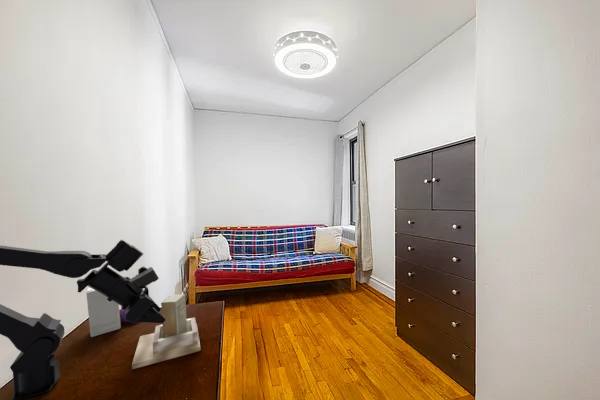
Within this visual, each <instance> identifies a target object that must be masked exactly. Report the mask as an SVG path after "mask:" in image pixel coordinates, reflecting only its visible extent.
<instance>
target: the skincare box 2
mask: <svg viewBox="0 0 600 400" xmlns="http://www.w3.org/2000/svg"><path fill="white" fill-rule="evenodd" d="M160 303H161V307H160V308H161V315H162V316H163V317H164V318H165V319H166V320H165V321H164V323H161V325H162V324H163V338H166V337H170V336H174V335H178V334H183V333H187V319H188V317H187V304H186V294H185V293H183V294H182V293H181V294H171V295H169V296H168V297H166V298H165V299H164V300H163V301H161V302H160Z"/></svg>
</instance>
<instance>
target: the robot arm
mask: <svg viewBox="0 0 600 400" xmlns="http://www.w3.org/2000/svg"><path fill="white" fill-rule="evenodd" d="M143 256H144V252H142V251H141V249H138V248H137V247H136V246H134V245H132V244H130V243H129V242H127V241H125V240H124V239H120V240H119V241H118V242H117V243H116V245H115V246H114V247H112V248H111V250H109V251H108V252H107V254H91V253H90V252H88V251H85V250H60V251H59V250H58V251H46V250H40V249H29V248H24V247H23V248H22V247H15V246H7V245H0V266H7V267H17V268H27V269H37V270H42V271H45V272H48V273H51V274H54V275H57V276H61V277H66V278H70V279H77V278H80V279H77V281H76V285H77V293H82V292H83V291H84V290H85V289H86V288H92V289H94V290H95V291H97V292H99V293H101V294H102V295H104V296H106V297H107V300H108V301H110V302H111V301H114V302H116V303H117V304H119V306H120V307H121V308H120V309H124V310H125V309H126V308H127V307H128V306H129V307H128V308H127V309H126V310H125V316H126V320H127V321H128V322H127V323H130V324H132V325H133V324H137V323H147V324H149V323H154V324H162V323H164V321H165V320H166V319H165V318H164V317H163V316H162V313H160V311H162V308H161V307H160V306H159V305H158V304H157V303H156V302H155V301H154V299H153V298H152V297H150V293H149V291H150V290H149V287H148V286H149V285H151V284H152V283H155V282H157V281H158V280H160V279H159V276H158V275H157V273H156V271H155V270H154V268H153V267H148V268H147V267H146V266H144V265H143V266H141V267H139V268H138V270H137V273H138V274H136V275H135V276H133V277H131V278H130V277H129V276H122V275H121V274H119V273H121V272H124V271H126V272H127V271H129V270H130V269H131V268H132V267H133V266H134V265H135V264H136V263H137V262H138V261H139V259H140V258H141V257H143ZM109 266H110V267H111V268H110V267H109ZM97 268H99V269H98V270H96V269H97ZM116 271H117V272H116ZM118 272H119V273H118ZM86 274H87V275H86ZM85 275H86V276H85ZM83 276H85V277H84V278H82V277H83ZM61 322H62V320H61V319H56V318H53V317H52V316H50V315H49V314H47V313H46V312H44V313H42V315H41V316H40V317H29V316H26V315H24V314H22V313H20V312H18V311H15V310H13V309H12V308H10V307H7V306H6V305H4V304H3V305H2V304H1V303H0V335H1V336H3V337H6V338H7V339H8V340H9V341H10V342H11V344H12V345H14V347H15V348H16V349H17V350H18V351H20V353H18V355H17V357H16V358H15V360H13V362H12V363H11V365H10V366H9V369H10V370H11V371H12V380H13V382H12V383H13V395H12V396H11V398H9V400H20V399H21V400H24V398H25V399H29V398H32V397H35V396H39V395H41V394H46V393H49V392H50V390H52V389H53V386H54V385H55V384H56V383H57V381H58V380H59V379H60V376H61V374H60V361H59V360H58V359H57V358H56V357H57V356H56V353H55V352H56V351H57V349H58V348H59V347H60V345H61V342H62V341H63V338H64V337H65V336H64V335H65V327H64V325H63V324H62V323H61Z"/></svg>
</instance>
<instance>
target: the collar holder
mask: <svg viewBox="0 0 600 400" xmlns="http://www.w3.org/2000/svg"><path fill="white" fill-rule="evenodd" d="M199 335H200V334H199V329H198V324H197V321H196V317H190V318H187V333H183V334H178V335H174V336H170V337H166V338H163V324H162V323H161V324H159V325H158V324H157V325H155V330H154V332H153V333H149V334H147V333H146V334H144V335H140V336H139V339H138V343H137V345H136V350H135V353H134V356H133V359H132V364H131V370H135V369H139V368H143V367H146V366H149V365H153V364H156V363H160V362H164V361H165V362H166V361H168V360H172V359H176V358H179V357H183V356H186V355H191V354H193V353H197V352H200V351H201V349H202V348H201V342H200V336H199Z"/></svg>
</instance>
